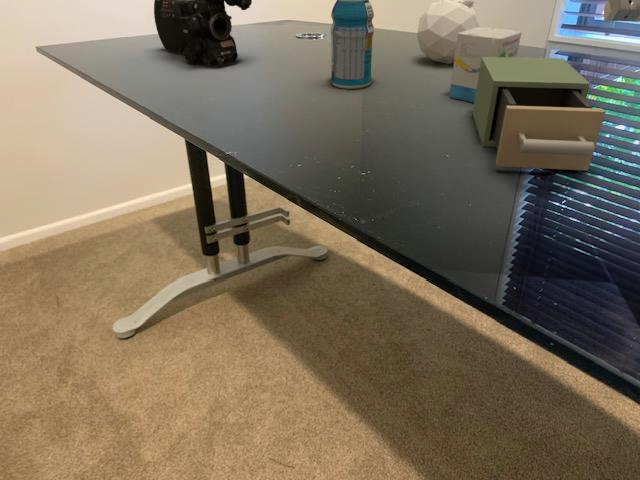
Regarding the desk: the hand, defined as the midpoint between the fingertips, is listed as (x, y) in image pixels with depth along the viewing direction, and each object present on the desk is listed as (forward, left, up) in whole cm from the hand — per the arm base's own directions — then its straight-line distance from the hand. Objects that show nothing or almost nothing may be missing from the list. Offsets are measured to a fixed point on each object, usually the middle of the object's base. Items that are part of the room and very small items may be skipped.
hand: (620, 15), depth 45 cm
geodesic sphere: (+9, -74, -21) cm, 78 cm away
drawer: (0, -16, -20) cm, 26 cm away
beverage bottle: (+29, -52, -21) cm, 63 cm away
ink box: (+4, -46, -21) cm, 51 cm away
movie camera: (+68, -72, -21) cm, 101 cm away
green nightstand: (0, -28, -21) cm, 35 cm away
